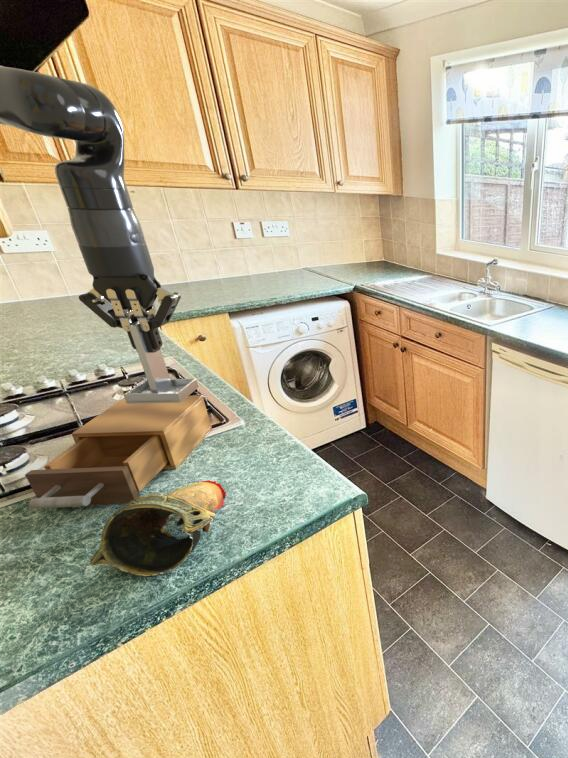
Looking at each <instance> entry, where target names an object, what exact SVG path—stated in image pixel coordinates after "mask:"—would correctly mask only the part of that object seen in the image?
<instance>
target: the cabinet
mask: <svg viewBox="0 0 568 758" xmlns="http://www.w3.org/2000/svg"><path fill="white" fill-rule="evenodd" d="M211 429H212V430H213V427H212V423H211V421H210V417H209V413H208V410H207V406H206V402H205V398H204V396H203V395H202V394H201V395H189V396H188V397H186V398H185V399H184V400H183V401H182V402H179V403H137V404H127V403H126V400H125V398H124V397H122V398H121V399H120V400H118V401H117V402H115V403H114V404H113V405H111V406H110V407H108V408H106V409H105V410H104V411H101V413H99V414H98V415H96V416H95V417H94V418H92V419H91V420H89V421H88V422H85V424H84V425H82V426H80V427H79V428H77V429H76V430H74V431H73V432H71V436H72V439H73V441H74V444H75V443H77V442H78V441H80V440H81V439H82V438H84V437H99V436H130V435H160V436H161V439H162V442H163V445H164V448H165V451H166V454H167V457H168V459H169V462H168V463H167V464H166V465H165V467H164V468H163V469H162V470H176V469H178V468H179V467H180V465H181V464H182V463H183V462H184V461H185V460H186V459H187V458H188V457H189V456H190V455H191V454H192V453H193V451H194V450H195V449H196V448H197V447H198V446H199V445H200V444H201V443H202V441H203V440H204V439H205V438H206V437H207V436H206V434H207V433H208V432H209V431H210V430H211ZM212 430H211V431H212ZM211 431H210V432H211ZM210 432H209V433H210ZM209 433H208V434H209ZM205 436H206V437H205Z"/></svg>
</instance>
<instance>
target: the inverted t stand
mask: <svg viewBox="0 0 568 758" xmlns="http://www.w3.org/2000/svg"><path fill="white" fill-rule="evenodd" d="M129 329H130V332H131V335H132V338H133V340H134V343H135V346H136V349H137V350H136V349H135V350H136V352H137V355H138V357H139V360H140V363H141V366H142V369H143V372H144V375H145V378H146V379H144V380H142V381H141V382H140V383H138V384H137V385H135V386H134V387H132V388H131V389H129V390H128V391H126V392H125V393H123V398H125V400H126V403H127V404H137V403H179V402H182V401H183V400H184V399H185V398H186V397H188V396H191V394H193V392H195V391H196V390H197V389H199V384H198V381H197V378H171V377H170V373H169V371H168V368H167V365H166V361H165V359H164V356H163V352H162V348H160V350H158V351H157V352H155V353H149V352H148V349H147V346H146V343H145V341H144V338H143V335H142V331H143V330H142V329H141V327H140V324H139V321H138V322H135V323H133V324H131V325H129Z"/></svg>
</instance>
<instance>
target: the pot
mask: <svg viewBox="0 0 568 758" xmlns="http://www.w3.org/2000/svg"><path fill="white" fill-rule="evenodd" d="M226 496H227V492H225V489H224V488H223V486H222V484H220V483H219V482H217V481H215V480H210V479H209V480H208V479H207V480H201V481H197V482H194V483H191V484H187V485H185V486H182V487H180V488H177V489H174V490H173V491H170V492H169V493H167V494H165V495H163V494H162V493H151V494H146V495H142V496H139V497H138V498H136V499H134V500H132V501H130V502H128V503H127V504H124V505H123V506H122V507H120V508H119V509H118V510H116V511H115V512H114V513H113V514H112V515H111V516H110V517H109V519H108V520H107V522H106V523H105V525H104V527H103V529H102V532H101V536H100V546H99V548H98V550H97V551H96V552H95V553H94V555H92V557H91V559H90V561H89V563H88V566H89V567H90V566H93V567H95V566H102V565H104V566H108V565H111V567H115V568H117V569H119V570H120V571H122V572H125V573H130V574H132V575H133V574H134V575H136V576H143V577H150V576H158V575H159V574H160V575H162V574H164V573H165V574H167V573H169V572H171V570H172V571H174V570H176V569H177V568H179V567H180V565H183V563H184V562H185V561H186V560H187V558H188V557H189V556H190V555H191V554H192V552H194V550H195V549H196V547H197V545H198V543H199V541H200V539H201V530H202V532H203V533H206V534H208V533H209V532H210V530H211V525H212V523H213V521H214V518H215V517H216V513H215V511H217V510H219V509H221V508H222V506H224V504H225V503H224V502H225V499H226ZM171 515H175V516H178V517H179V520H177V522H176V525H177V526H182V525H183V526H182V530H181V531H182V532H184V533H185V534H186V535H187V536H185V537H182V538H179V539H178V538H177V537H176V536H174V535H173V534H172V533H170V532H169V531H168V530H166V529H165V528H163V527H164V526H165V525H166V524H167V522H168V521H169V520H170V516H171Z"/></svg>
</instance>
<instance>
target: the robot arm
mask: <svg viewBox="0 0 568 758" xmlns="http://www.w3.org/2000/svg"><path fill="white" fill-rule="evenodd" d="M0 125H3V126H7V127H8V126H9V127H12V128H13V127H14V128H17V129H19V130H21V131H24V132H27V133H31V134H34V135H39V136H44V137H48V138H53V139H59V140H69V141H75V155H74V157H73V158H71V159H67V160H62V161H59V162H57V163H56V164H55V165H54V174H55V178H56V181H57V184H58V186H59V189H60V192H61V195H62V198H63V201H64V203H65V205H66V207H67V211H68V212H67V213H68V217H69V221H70V222H69V223H70V226H71V228H72V229H71V230H72V231H73V234H74V237H75V239H76V242H77V245H78V248H79V250H80V254H81V256H82V258H83V261H84V264H85V266H86V270H87V272H88V274H89V275H90V276H92V277H93V278H92V279H93V280H92V289H90V290H89V291H87V292H85V293H83V294H79V296H78V300H79V301H80V302H81V303H82V304H83V305H85V306H86V308H88V309H89V310H90V311H92V312H93V313H94V314H95V315H96V316H97V317H99V318H100V319H101V320H102V321H103V322H104V323H106V324H107V325H108V326H109V327H111V328H113V329H114V328H119V329H123V330H124V332H126V334H127V336H128V340H129V342H130V345H131V347H132V349H134V350H136V351H137V349H136V346H135V343H134V340H133V338H132V335H131V332H130V329H129V325H131V324H133V323H135V322H138V321H139V324H140V327H141V329H142V330H143V331H142V335H143V338H144V341H145V343H146V346H147V349H148V352H149V353H155V352H157V351H158V350H160V349H162V347H163V343H164V342H163V341H162V338H161V334H160V331H159V328H161V327H162V326H165V325H167V324H169V322H170V321H171V319H172V317H173V315H174V313H175V311H176V309H177V306H178V304H179V302H180V300H181V297H182V296H181V294H180V293H178V292H175V291H174V292H170V291H168V290H166V289H165V288H163V287H162V285H161V283H160V281H159V280H158V279H157V277H156V276H155V267H154V264H153V260H152V258H151V255H150V252H149V247H148V245H147V242H146V239H145V235H144V231H143V229H142V228H143V227H142V225H141V223H140V221H139V220H140V219H139V218H138V216H137V214H136V211H135V209H134V207H133V206H134V205H133V203H132V198H131V196H130V193H129V190H128V187H127V186H128V185H127V184H126V181H125V130H124V129H125V128H124V125H123V121H122V119H121V116H120V114H119V112H118V110H117V108H116V106H115V104H114V103H113V101H112V100H111V99H110V98H109V97H108V96H107V95H106V94H105V93H104V92H103V91H101V90H100V89H98V88H97V87H95V86H93V85H90V84H88V83H84V82H81V81H76V80H71V79H66V78H63V77H60V76H59V77H58V76H55V75H50V74H46V73H42V72H37V71H32V70H26V69H22V68H16V67H9V66H4V65H0ZM157 298H158V299H157ZM156 300H157V302H158V304H159V307H158V309H157V308H156V305H155V302H156Z"/></svg>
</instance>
